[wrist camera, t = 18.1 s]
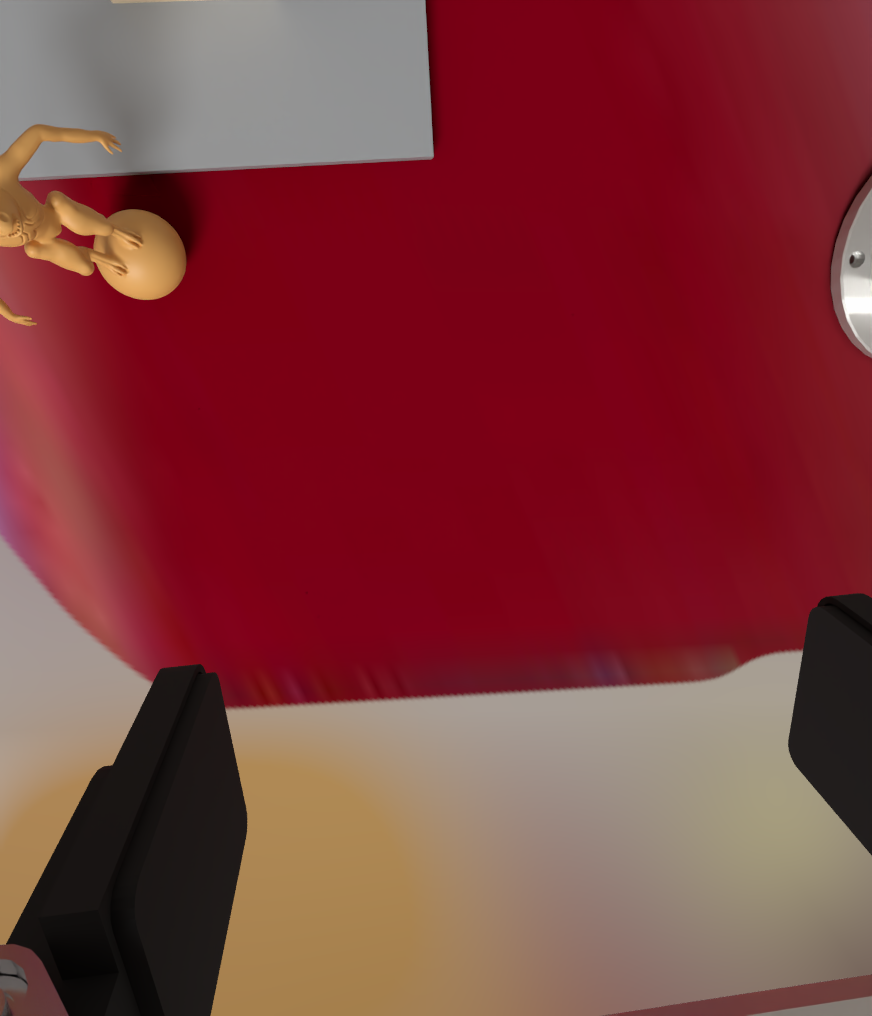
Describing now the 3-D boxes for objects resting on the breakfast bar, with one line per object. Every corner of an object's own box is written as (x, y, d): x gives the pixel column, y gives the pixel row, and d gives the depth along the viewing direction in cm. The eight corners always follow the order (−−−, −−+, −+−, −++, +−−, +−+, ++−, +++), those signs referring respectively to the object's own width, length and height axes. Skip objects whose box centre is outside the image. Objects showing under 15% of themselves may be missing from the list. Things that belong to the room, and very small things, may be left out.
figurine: (152, 348, 35) (52, 392, 24) (38, 279, 33) (-127, 291, 22) (230, 206, 33) (162, 179, 22) (114, 125, 31) (-26, 51, 20)
